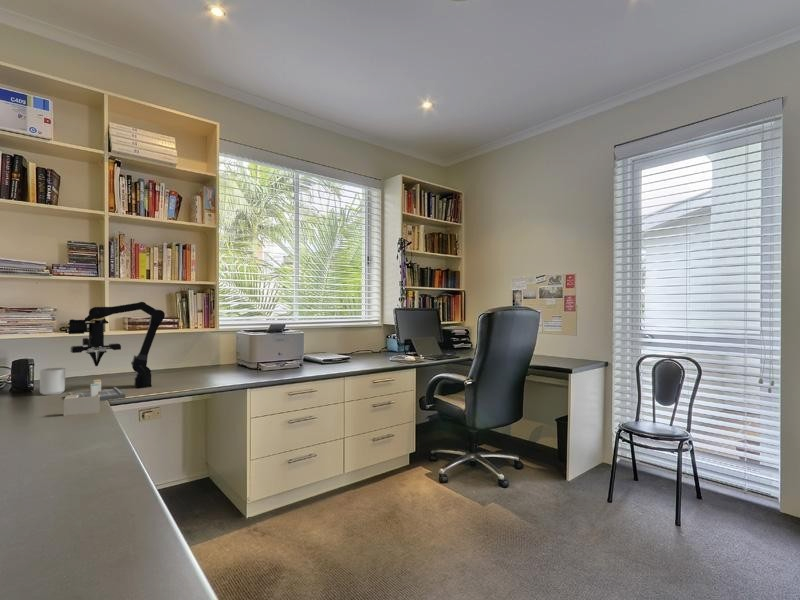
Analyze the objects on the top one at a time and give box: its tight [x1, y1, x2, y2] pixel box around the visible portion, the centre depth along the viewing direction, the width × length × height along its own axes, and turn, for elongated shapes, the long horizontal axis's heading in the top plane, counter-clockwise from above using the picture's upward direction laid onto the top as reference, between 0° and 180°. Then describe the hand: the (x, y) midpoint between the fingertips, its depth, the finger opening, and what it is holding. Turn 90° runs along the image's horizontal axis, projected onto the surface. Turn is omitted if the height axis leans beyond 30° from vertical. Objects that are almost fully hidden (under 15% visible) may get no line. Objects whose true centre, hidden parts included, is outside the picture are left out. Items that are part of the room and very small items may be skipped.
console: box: [65, 387, 126, 402], centre depth 181 cm, size 19×18×2 cm
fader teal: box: [89, 382, 98, 396], centre depth 177 cm, size 2×4×5 cm, turn 43°
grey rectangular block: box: [93, 379, 102, 392], centre depth 186 cm, size 2×4×5 cm, turn 43°
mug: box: [39, 367, 66, 396], centre depth 190 cm, size 12×9×11 cm
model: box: [63, 392, 101, 417], centre depth 155 cm, size 3×11×8 cm, turn 117°
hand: (96, 366), depth 195 cm, fingers closed
